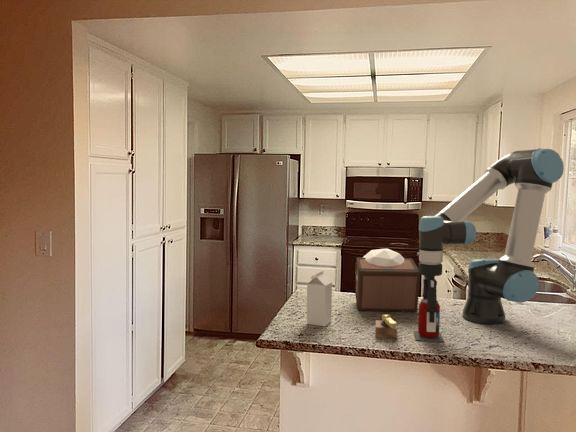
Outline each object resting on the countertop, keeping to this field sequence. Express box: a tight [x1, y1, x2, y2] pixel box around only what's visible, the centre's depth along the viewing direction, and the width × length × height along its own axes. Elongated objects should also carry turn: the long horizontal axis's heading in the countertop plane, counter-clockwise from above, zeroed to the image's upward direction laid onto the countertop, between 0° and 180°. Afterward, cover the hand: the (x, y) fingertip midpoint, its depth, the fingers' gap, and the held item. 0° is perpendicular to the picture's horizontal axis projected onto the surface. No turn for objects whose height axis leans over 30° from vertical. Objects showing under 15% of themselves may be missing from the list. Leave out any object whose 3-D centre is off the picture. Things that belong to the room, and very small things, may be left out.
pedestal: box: [374, 319, 398, 340], centre depth 159 cm, size 7×8×4 cm
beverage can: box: [417, 298, 441, 338], centre depth 156 cm, size 7×7×12 cm
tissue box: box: [354, 248, 421, 313], centre depth 198 cm, size 24×28×24 cm
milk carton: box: [306, 270, 333, 327], centre depth 171 cm, size 7×7×19 cm
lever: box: [381, 313, 397, 328], centre depth 155 cm, size 9×3×2 cm, turn 5°
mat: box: [413, 330, 445, 344], centre depth 156 cm, size 9×9×1 cm
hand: (428, 325), depth 156 cm, fingers open, 13 cm apart
